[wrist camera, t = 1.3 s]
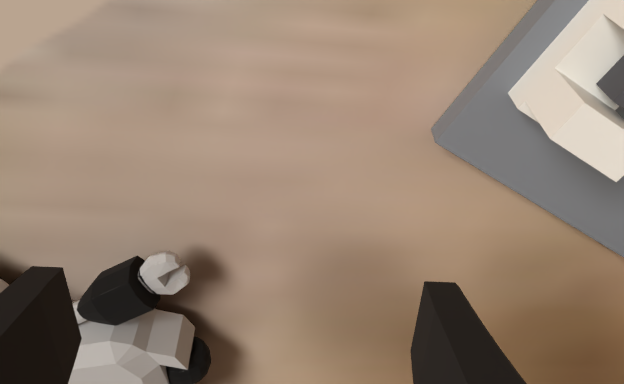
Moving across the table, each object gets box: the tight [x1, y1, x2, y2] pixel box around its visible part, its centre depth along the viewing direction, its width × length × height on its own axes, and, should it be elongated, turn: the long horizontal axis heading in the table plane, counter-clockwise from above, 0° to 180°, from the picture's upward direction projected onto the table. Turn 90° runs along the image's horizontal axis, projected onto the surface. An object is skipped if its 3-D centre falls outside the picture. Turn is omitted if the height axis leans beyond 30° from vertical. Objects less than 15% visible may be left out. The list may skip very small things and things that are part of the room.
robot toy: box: [0, 251, 211, 384], centre depth 25 cm, size 12×4×15 cm
